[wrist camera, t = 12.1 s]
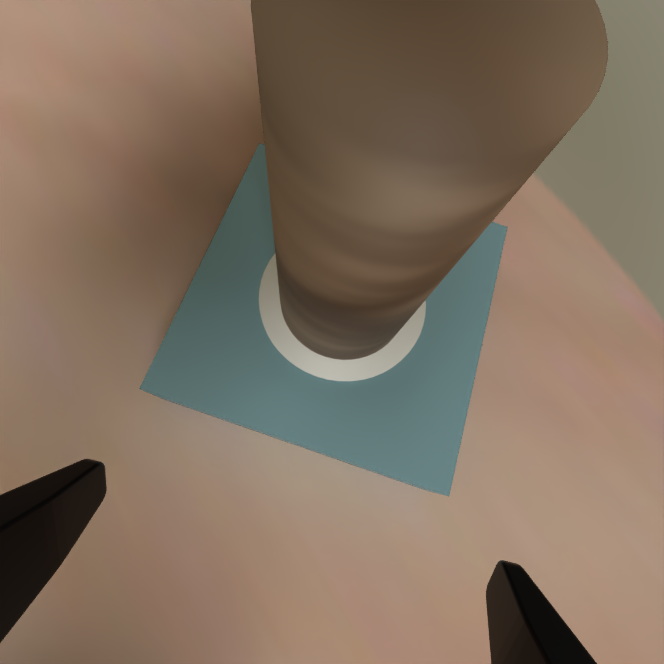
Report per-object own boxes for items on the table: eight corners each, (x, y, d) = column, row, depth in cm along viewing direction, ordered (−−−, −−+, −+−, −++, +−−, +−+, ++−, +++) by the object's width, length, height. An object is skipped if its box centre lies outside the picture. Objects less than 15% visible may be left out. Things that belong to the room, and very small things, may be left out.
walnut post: (296, 373, 18) (297, 187, 5) (268, 254, 19) (220, -102, 7) (421, 343, 19) (670, 127, 6) (385, 232, 20) (527, -117, 8)
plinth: (426, 490, 20) (450, 496, 17) (161, 398, 20) (137, 387, 17) (482, 254, 24) (509, 225, 21) (263, 179, 24) (259, 140, 21)
